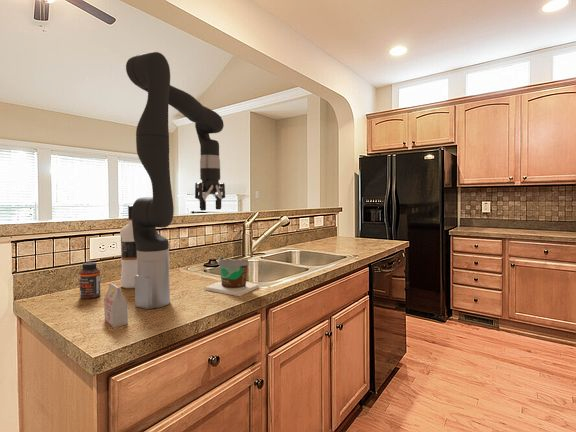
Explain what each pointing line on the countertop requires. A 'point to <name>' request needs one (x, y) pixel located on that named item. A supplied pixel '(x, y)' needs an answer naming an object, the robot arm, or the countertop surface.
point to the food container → (233, 272)
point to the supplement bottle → (89, 281)
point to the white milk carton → (115, 307)
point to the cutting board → (232, 291)
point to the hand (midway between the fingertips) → (211, 209)
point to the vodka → (128, 254)
